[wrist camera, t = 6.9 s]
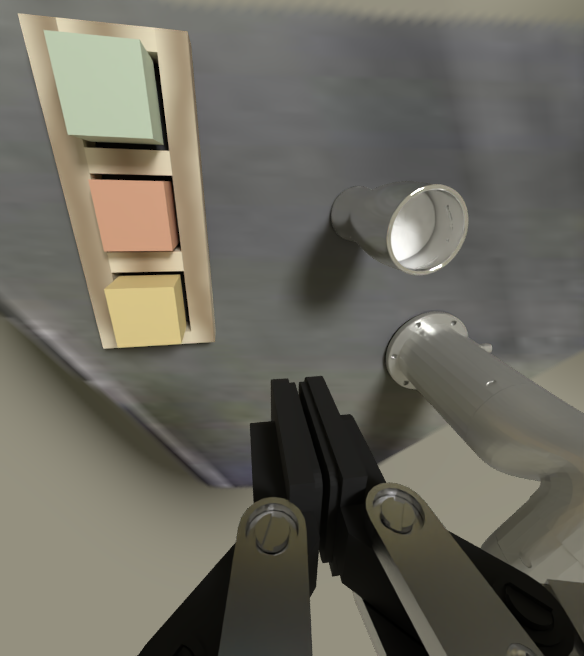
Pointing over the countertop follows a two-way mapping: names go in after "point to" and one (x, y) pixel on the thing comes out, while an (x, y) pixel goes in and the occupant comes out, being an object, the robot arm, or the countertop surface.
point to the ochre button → (146, 310)
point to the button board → (132, 171)
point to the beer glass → (403, 224)
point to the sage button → (105, 88)
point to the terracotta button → (135, 214)
